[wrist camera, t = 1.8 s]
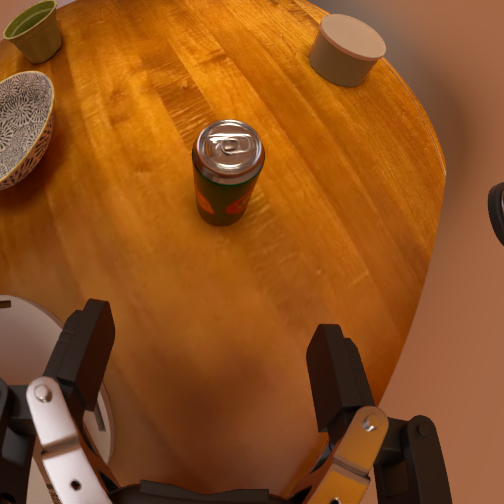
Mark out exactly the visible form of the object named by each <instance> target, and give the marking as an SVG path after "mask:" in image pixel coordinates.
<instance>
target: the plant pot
mask: <svg viewBox="0 0 504 504" xmlns="http://www.w3.org/2000/svg"><path fill="white" fill-rule="evenodd" d="M56 6H57V2H56V1H55V0H44V1H41V2H39V3H36V4H34V5H32V6H31V7H29V8H27V9H26V10H24V11H23V12H22V13H20V14H19V15H18V16H17V17H15V18H14V19H13V20H12V21H11V22H10V23H9V25H8V26H7V27H6V29H5V31H4V33H3V38H4V39H5V40H9V41H10V42H11V43H14V44H15V46H16V47H17V48H18V49H19V50H20V51H21V52H22V53H23V54H24V55H25V57H26V58H27V59H28V60H29V61H30V62H31V63H32V64H33V63H38V64H39V63H42V62H44V61H46V60H48V59H49V58H51V57H52V56H53V55H54V54H55V53H56V51H57V49H59V48H60V47H61V44H62V41H61V37H60V33H59V29H58V25H57V20H56Z"/></svg>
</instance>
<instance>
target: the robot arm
mask: <svg viewBox="0 0 504 504" xmlns="http://www.w3.org/2000/svg"><path fill="white" fill-rule="evenodd" d="M500 209H501V214H502V218H503V221H504V190H502V192H501V195H500ZM114 340H115V325H114V321H113V317H112V313H111V308H110V304H109V302H108V301H103V300H97V299H91V298H90V299H89V300H88V301H87V303H86V305H85V307H84V309H83V311H81V310H76V311H75V312H74V313H73V314H72V315H71V316H70V317H68V318H67V320H66V323H65V325H64V327H63V329H62V332H61V333H60V336H59V338H58V341H57V342H56V345H55V347H54V349H53V352H52V354H51V356H50V359H49V361H48V364H47V366H46V369H45V371H44V373H43V375H42V376H41V377H38V378H36V379H34V380H33V381H32V382H31V383H30V384H28V385H7V384H6V383H5V381H4V380H3V379H2V378H0V504H26V501H27V491H28V483H29V475H30V469H31V462H32V456H33V451H34V446H35V441H36V436H37V435H38V437H39V439H40V442H41V445H42V448H43V451H42V452H41V459H42V462H43V465H44V467H45V469H46V472H47V474H48V476H49V479H50V481H51V483H52V485H53V487H54V489H55V491H56V494H57V496H58V498H59V500H60V501H61V503H62V504H360V502H361V500H362V498H363V496H364V494H365V492H366V491H367V489H368V487H369V484H370V477H369V476H368V474H369V471H370V469H371V467H372V465H373V467H374V475H375V482H376V489H377V498H378V504H452V498H451V493H450V487H449V482H448V477H447V472H446V468H445V464H444V459H443V455H442V451H441V447H440V443H439V439H438V435H437V431H436V428H435V425H434V423H433V422H432V421H431V420H430V419H429V418H427V417H426V416H422V415H418V416H415V417H413V418H412V419H411V420H409V421H404V420H398V419H394V418H389V417H387V416H386V414H385V413H384V412H383V411H382V410H381V409H379V408H377V407H376V406H375V404H374V401H373V398H372V394H371V391H370V387H369V384H368V380H367V377H366V374H365V371H364V367H363V364H362V362H361V358H360V354H359V351H358V348H357V347H356V346H355V344H354V343H353V342H352V340H351V339H350V338H344V337H343V334H342V330H341V327H340V326H339V325H338V324H319V325H318V327H317V329H316V331H315V333H314V335H313V337H312V339H311V342H310V344H309V346H308V348H307V353H306V361H307V367H308V373H309V378H310V384H311V390H312V396H313V401H314V407H315V413H316V419H317V425H318V432H319V433H320V432H328V435H329V439H328V440H327V441H326V443H325V445H324V446H323V448H322V450H321V451H320V453H319V454H318V456H317V458H316V459H315V461H314V462H313V464H312V465H311V467H310V468H309V470H308V471H307V473H306V474H305V475H304V477H303V478H302V479H301V480H300V481H299V482H298V483H297V484H296V485H295V487H294V488H293V489H292V491H291V492H290V493H289V495H288V496H287V497H286V499H285V498H282V497H280V496H277V495H274V494H269V489H236V490H231V491H226V492H221V493H215V494H209V495H203V494H199V493H196V492H192V491H189V490H186V489H183V488H181V487H178V486H175V485H172V484H165V483H159V482H152V481H147V480H141V483H140V484H133V485H128V486H124V487H121V486H120V485H119V483H118V482H117V480H116V478H115V477H114V475H113V473H112V472H111V470H110V469H109V467H108V466H107V465H106V463H105V462H104V460H103V459H102V457H101V455H100V453H99V451H98V449H97V447H96V445H95V443H94V441H93V439H92V437H91V435H90V433H89V431H88V429H87V427H86V424H85V422H84V420H83V416H84V412H85V410H86V411H90V412H94V410H95V406H96V402H97V398H98V394H99V391H100V387H101V383H102V380H103V376H104V373H105V370H106V366H107V363H108V360H109V356H110V353H111V350H112V347H113V344H114Z"/></svg>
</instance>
